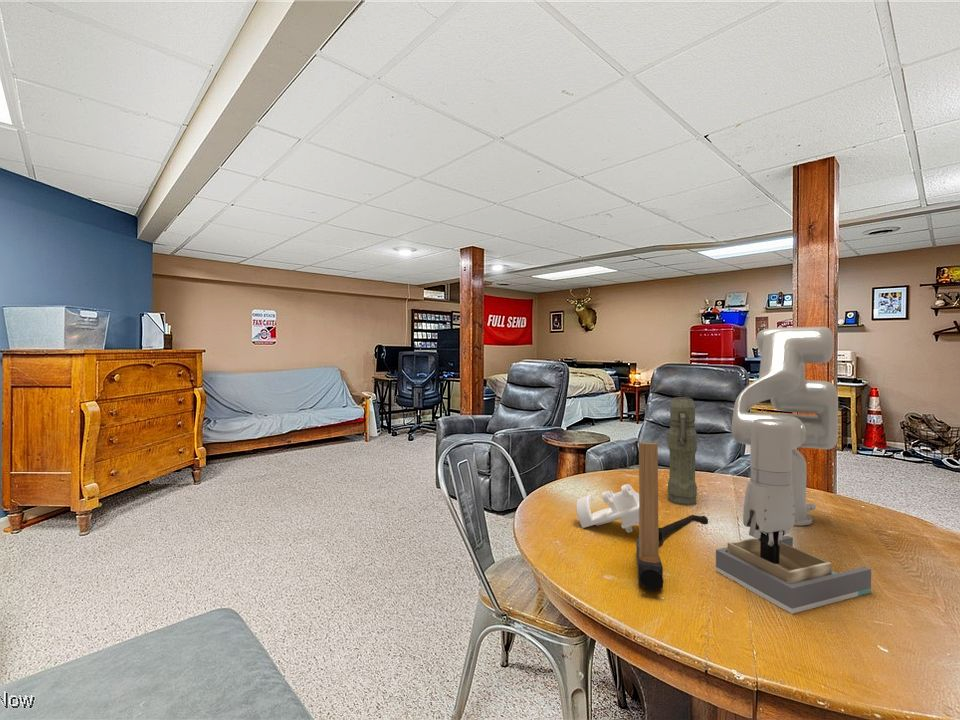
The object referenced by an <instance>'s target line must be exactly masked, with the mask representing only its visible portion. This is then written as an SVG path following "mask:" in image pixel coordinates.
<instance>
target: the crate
mask: <svg viewBox="0 0 960 720" xmlns="http://www.w3.org/2000/svg"><path fill="white" fill-rule="evenodd" d="M779 546H780V557H779V564H773V563H771V562H769V561H767V560H765V559H763V558H761V557H760V541H758V538H754V537H751V538H747V539H742V540H741V539H740V540H735V541H731V542H728V543H727V547H728V548H727V547H726V548H727V553H729V554H731V555H733V556H735V557H737V558H739V559H741V560H743V561H745V562H747V563H749V564H751V565H753V566H755V567H757V568H759V569H761V570H763V571H765V572H767V573H769V574H771V575H773V576H775V577H777V578H779V579H781V580H783V581H785V582H787V583H789V584H794V583H798V582H802V581H807V580H811V579H815V578H819V577H823V576H828V575H832V571H833V568H832V566H833V565H832V562H829V561H827V560H826V559H823V558H821V557H818V556H816V555H813V554H811V553H808V552H807V551H804V550H801V549H799V548H796V547H794V546H793V547H792V546H790V545H787V544H785V543H783V542H782V544H781V545H779Z"/></svg>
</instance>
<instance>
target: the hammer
mask: <svg viewBox="0 0 960 720" xmlns="http://www.w3.org/2000/svg"><path fill="white" fill-rule="evenodd" d="M658 447H659V444H658V443H655V442H643V441H642V442H640V441H639V442H638V475H639V476H638V493H639V524H638V525H639V527H638V528H639V529H638V538H635V545H636V565H637V577H638V579H637V580H638V585H640V586H643V588H645V589H647V590H648V591H654V592H655V591H658V590H660V589H661V588H662V589H663V588H664V572H663V571H664V570H663V568H664V566H663V564H662V562H661V557H660V554H659V553H660V549H659V535H658V528H659V453H658V452H659V448H658Z"/></svg>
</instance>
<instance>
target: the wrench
mask: <svg viewBox="0 0 960 720" xmlns="http://www.w3.org/2000/svg"><path fill="white" fill-rule="evenodd" d="M692 522H697V523H701V524H702V525H706V524H708V523H709V519H708V517H707V516H706V515H694V514H692V515H691V514H690V515H689V516H686V517H684V518H681V519H679V520H676V521H674V522H672V523H669V524H667V525H664V526H662V527H658V535H659V547H660V546H662V544H663V543H664V541H665V539H666V537H668V536H669V535H671V534H673V533H674V532H676V531H677V530H679V529H682V528H683V527H684V526H686V525H688V524H690V523H692ZM660 548H661V547H660Z"/></svg>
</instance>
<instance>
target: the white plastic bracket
mask: <svg viewBox="0 0 960 720" xmlns="http://www.w3.org/2000/svg"><path fill="white" fill-rule="evenodd" d="M620 489H621V490H620V491H618V492H615V493H614V492H613V491H612V490H606V491H603V492H602V493H601V497H602V500H603V502H604V503H605V504H608V505H609V507H606V508H603V509H600V510H597V511H595V512H592V510H591V506H590V505H591V499H592V495H591V494H589V493H588V494H586V495H582V496H579V497H578V498H577V501H576V502H575V503H576V505H575V507H576V509H575V510H576V515H577V519H578V522H579V524H580V526H581V528H582V527H583V528H582V529H584V528H587V527H591V526H594V525H595V526H596V527H598V526H600V525H604V524H608V523H612V522H615V521H619V520H620V522H621V524H620V526H621V528H622V529H625V532H627V533H629V534H630V533H632V532H633V527H632V526H637V525H639V492H637V491H636V490H635V489H634V488H633V487H632V485H631V484H630V483H625V484H623V485H621V488H620Z"/></svg>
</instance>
